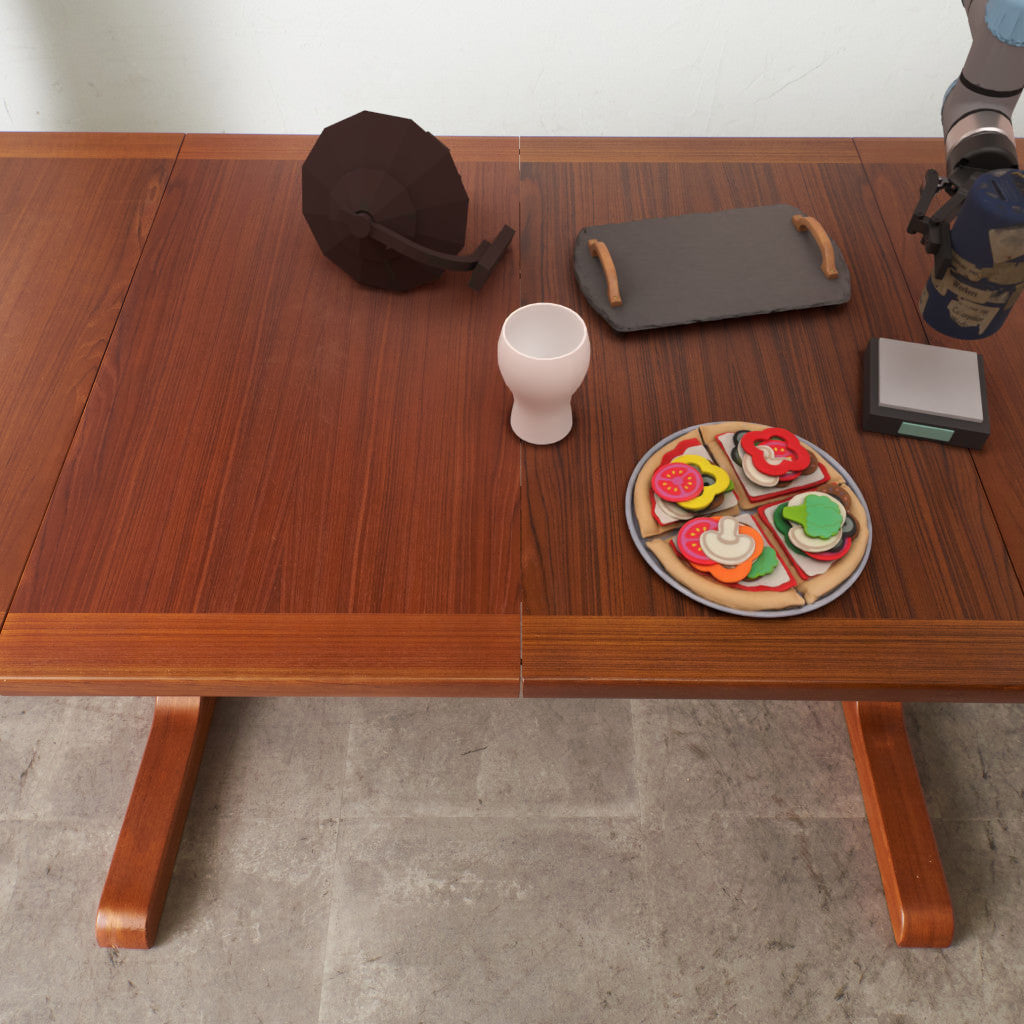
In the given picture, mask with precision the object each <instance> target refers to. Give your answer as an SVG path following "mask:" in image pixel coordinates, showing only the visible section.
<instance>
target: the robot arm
mask: <svg viewBox="0 0 1024 1024" xmlns="http://www.w3.org/2000/svg"><path fill="white" fill-rule="evenodd" d="M960 1H961V4H962V7H963V8H964V10H965V14H966V17H967V23H968V26H969V31H970V36H971V40H972V42H971V46H970V48H969V50H968V54H967V56H966V59H965V62H964V65H963V67H962V68H961V70H960V73H959V75H958V77H957V78H955V79H954V80H953V81H952V82H951V83H950V85H948V87H947V89H946V90H945V92H944V95H943V99H942V105H941V108H940V116H941V118H940V122H941V126H942V134H943V142H944V143H943V144H944V156H945V157H944V158H945V159H944V160H945V166H946V167H945V171H946V176H941V175H939V174H938V173H939V172H938V171H937V170H936V169H933V168H927V170H926V172H925V175H924V176H923V180H922V182H921V185H920V187H919V195H920V197H919V200H918V202H917V204H916V206H915V208H914V210H913V213H912V215H911V218H910V220H909V222H908V224H907V227H906V229H905V230H906V233H908V234H910V235H916V234H921V235H922V237H921V239H920V244H921V245H922V246H924V251H925V252H926V253H927V254H928V255H933V266H934V267H935V279H938V280H943V278H944V276H945V274H946V272H947V269H948V267H949V265H950V263H951V261H952V248H951V234H950V230H951V223H952V222H953V221H955V219H956V217H957V216H958V214H959V212H960V210H961V207H962V205H963V203H964V201H965V199H966V196H967V194H968V192H969V190H970V188H971V186H972V184H973V183H974V181H975V180H976V179H977V178H978V177H979V176H981V175H982V174H984V173H986V172H989V171H992V170H996V169H1019V170H1020V164H1019V159H1018V152H1017V144H1016V138H1015V134H1014V127H1013V120H1012V117H1013V113H1014V110H1015V108H1016V106H1017V104H1018V102H1019V99H1020V97H1021V96H1022V93H1023V91H1024V0H960ZM942 190H944V192H945V193H946V194H947V195H948V196H949V197H950V198H949V199H948V200H947V201H946V202H945V203H944V204H943V205H942V206H941V207H939V208H938V209H937V210H936V211H935V212H934V213H933V214H932V215H931V216H928V215H926V214H927V212H928V210H929V207H930V205H931V203H932V201H933V198H935V197H936V196H937V194H939V193H941V192H942Z"/></svg>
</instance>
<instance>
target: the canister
mask: <svg viewBox="0 0 1024 1024" xmlns="http://www.w3.org/2000/svg"><path fill="white" fill-rule="evenodd" d="M950 234H951V248H952V261H951V263H950V265H949V267H948V269H947V272H946V274H945V276H944V278H943V280H938V279H935V267H934V265H933V266H932V268H931V272H930V274H929V275H928V278H927V280H926V283H925V285H924V287H923V290H922V292H921V294H920V297H919V301H918V310H919V314H920V316H921V317H922V319H923V320H924V322H925V323H926V324H927V325H928V326H929V327H931V328H932V329H934V331H936V332H938V333H940V334H942V335H944V336H947V337H949V338H951V339H955V340H956V339H957V340H961V341H978V340H979V341H980V340H984V339H986V338H989V337H991V336H993V335H995V334H997V332H998V331H1000V329H1001V328H1002V327H1003V325H1004V324H1005V322H1006V320H1007V318H1008V317H1009V315H1010V314H1011V311H1012V309H1014V306H1015V304H1016V303H1017V301H1018V299H1019V298H1020V296H1021V294H1022V293H1023V291H1024V169H1020V168H1019V169H996V170H992V171H989V172H986V173H984V174H982V175H981V176H979V177H978V178H977V179H976V180H975V181H974V183H973V184H972V186H971V188H970V190H969V192H968V194H967V196H966V199H965V201H964V203H963V205H962V207H961V210H960V212H959V214H958V216H957V217H956V218H955V219H954V223H953V225H952V227H951V228H950Z"/></svg>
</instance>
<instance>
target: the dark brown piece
mask: <svg viewBox="0 0 1024 1024" xmlns="http://www.w3.org/2000/svg"><path fill="white" fill-rule="evenodd" d="M469 205H470V198H469V195H468V193H467V190H466V188H465V185H464V183H463V180H462V175H461V174H460V173H459V170H458V169H457V166H456V163H455V161H454V158H453V156H452V153H451V149H450V148H449V147H448V146H446V144H445V143H443V142H442V141H441V140H440V139H439V138H437V137H436V136H435V135H434V134H433V133H431V131H429V130H427V131H426V130H425V129H424V128H423V127H421V126H420V125H419V124H418V123H416V122H415V121H414V120H413V119H412V118H407V117H402V116H397V115H391V114H387V113H382V112H376V111H371V110H366V109H364V110H362V111H359V112H357V113H355V114H353V115H350V116H348V117H346V118H344V119H341V120H340V121H337V122H334V123H333V124H330V125H328V126H326V127H324V128H323V130H322V131H321V133H320V134H319V136H318V138H317V140H316V141H315V143H314V145H313V146H312V147H311V150H310V152H309V153H308V155H307V157H306V158H305V160H304V162H303V164H301V213H302V216H303V217H304V219H305V221H306V223H307V225H308V227H309V230H310V231H311V233H312V235H313V237H314V239H315V241H316V243H317V246H318V247H319V249H320V251H321V253H322V256H323V257H325V258H327V259H328V260H329V261H330V262H332V263H333V264H334V265H335V266H337V267H338V268H339V269H340V270H341V271H343V272H344V273H345V274H347V275H348V276H349V277H350V278H351V279H353V280H354V281H355V282H357V283H358V284H359V285H360V284H361V285H365V286H369V287H374V288H379V289H383V290H388V291H394V292H398V293H403V292H405V291H408V290H411V289H414V288H417V287H420V286H422V285H426V284H428V283H431V282H434V281H437V280H440V279H441V277H442V276H443V274H444V273H445V272H446V271H449V272H451V271H452V272H459V273H460V272H461V273H463V272H466V273H467V272H471V271H473V272H472V274H471V276H470V277H469V278H470V279H469V280H468V283H467V287H468V288H471V289H472V290H473V291H475V292H476V293H477V294H479V293H480V292H481V290H482V289H483V287H484V286H485V284H486V283H487V281H488V279H489V278H490V277H491V275H492V274H493V272H494V271H495V270H496V267H497V266H498V265H499V264H500V262H501V260H502V259H503V257H504V256H505V254H506V253H507V251H508V250H509V249H508V248H509V246H510V245H511V242H512V241H513V238H514V236H515V234H516V232H517V231H516V230H515V229H514V228H512V227H510V226H509V225H508V224H506V223H505V224H504V226H503V227H502V228H501V230H500V231H499V232H498V234H497V235H496V237H495V238H494V239H493V240H492V242H490V241H488V240H486V239H484V238H483V240H481V242H480V244H479V245H478V246H477V247H476V249H475V250H474V251H473V252H472V253H470V254H466V255H459V254H460V252H461V251H462V250H463V248H464V247H465V244H466V236H467V235H466V233H467V225H468V215H469V214H468V213H469Z"/></svg>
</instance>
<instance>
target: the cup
mask: <svg viewBox="0 0 1024 1024" xmlns="http://www.w3.org/2000/svg"><path fill="white" fill-rule="evenodd" d="M590 359H591V342H590V337H589V331H588V328H587V326H586V323H585V321H584V319H583V318H582V317H581V316H580V315H579V313H577V312H576V311H574V310H573V309H571V308H569V307H566V306H564V305H562V304H558V303H552V302H536V303H530V304H529V303H528V304H527V305H524V306H521V307H519V308H517V309H515V310H514V311H513V312H511V313H510V314H509V315H508V317H506V318H505V321H504V322H503V325H502V328H501V329H500V334H499V337H498V341H497V365H498V368H499V371H500V375H501V376H502V379H503V381H504V384H505V385H506V386H507V388H508V389H509V390H510V392H511V393H512V396H513V404H512V409H511V415H510V426H511V429H512V431H513V433H514V434H515V435H516V436H517V437H518V438H520V439H521V440H522V441H524V442H527V443H530V444H533V445H550V444H554V443H557V442H559V441H561V440H563V439H564V438H565V437H567V435H568V434H569V433H570V432H571V430H572V427H573V413H572V412H573V411H572V406H571V401H572V396H573V395H574V394H575V393H576V392H577V390H578V389H579V387H580V386H581V385H582V383H583V381H584V379H585V377H586V375H587V373H588V370H589V366H590V362H591V361H590Z"/></svg>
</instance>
